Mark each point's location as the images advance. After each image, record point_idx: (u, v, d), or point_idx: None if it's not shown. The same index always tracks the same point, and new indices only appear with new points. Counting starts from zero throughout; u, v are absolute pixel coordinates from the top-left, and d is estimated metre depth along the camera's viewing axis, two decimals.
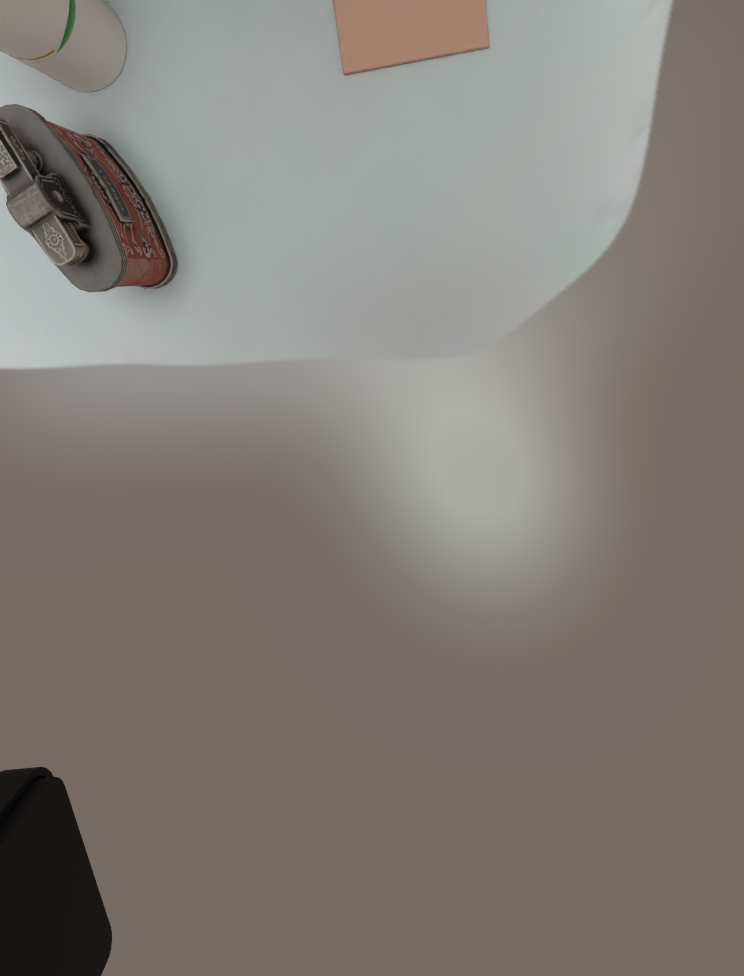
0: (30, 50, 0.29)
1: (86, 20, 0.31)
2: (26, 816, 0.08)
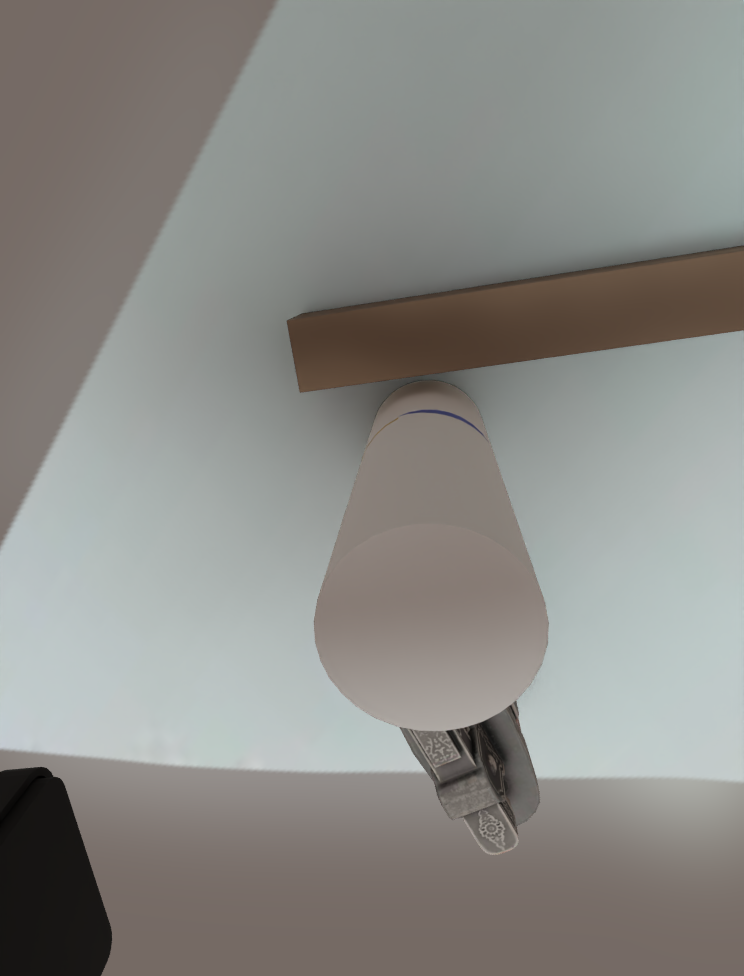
0: None
1: None
2: (26, 816, 0.08)
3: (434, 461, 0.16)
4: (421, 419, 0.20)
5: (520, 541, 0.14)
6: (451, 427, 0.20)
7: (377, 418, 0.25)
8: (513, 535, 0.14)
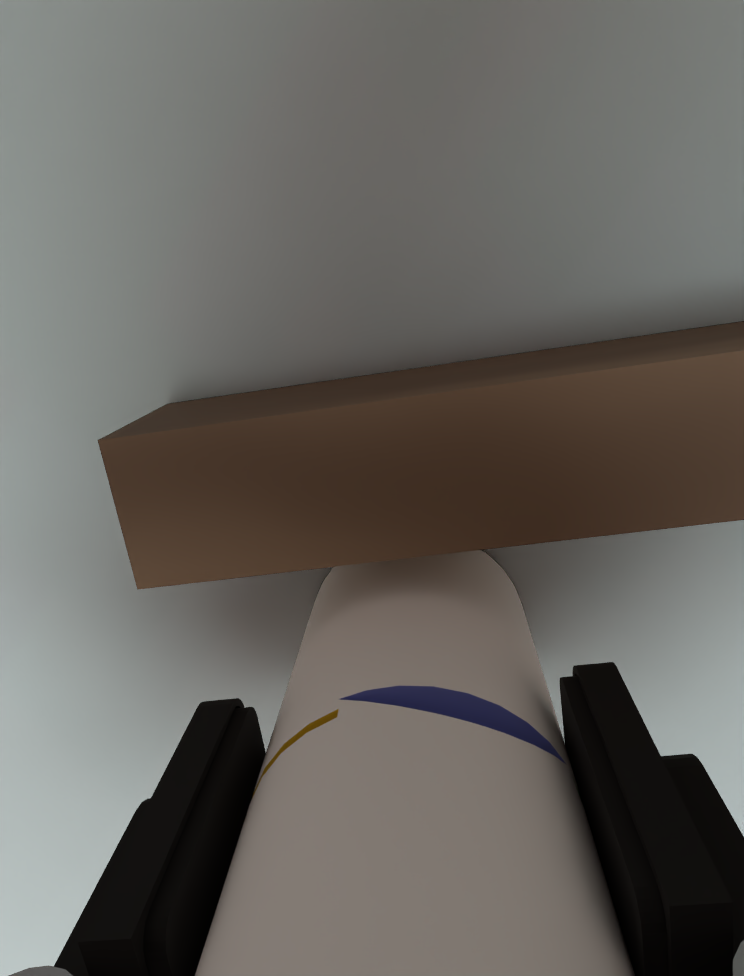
0: None
1: None
2: (239, 738, 0.09)
3: None
4: (394, 759, 0.07)
5: None
6: (480, 811, 0.07)
7: (310, 632, 0.12)
8: None
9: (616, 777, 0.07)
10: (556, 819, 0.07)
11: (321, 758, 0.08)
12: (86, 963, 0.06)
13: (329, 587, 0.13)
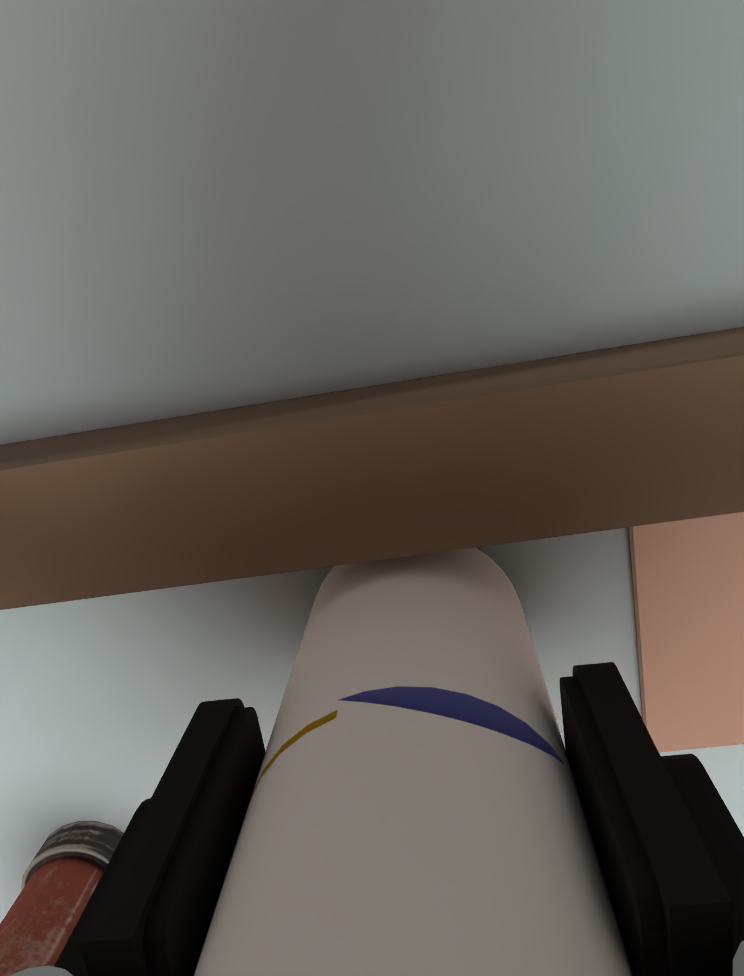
0: None
1: None
2: (239, 738, 0.09)
3: None
4: (392, 760, 0.07)
5: None
6: (478, 812, 0.07)
7: (309, 633, 0.12)
8: None
9: (616, 777, 0.07)
10: (555, 820, 0.07)
11: (320, 759, 0.08)
12: (86, 963, 0.06)
13: (328, 588, 0.13)
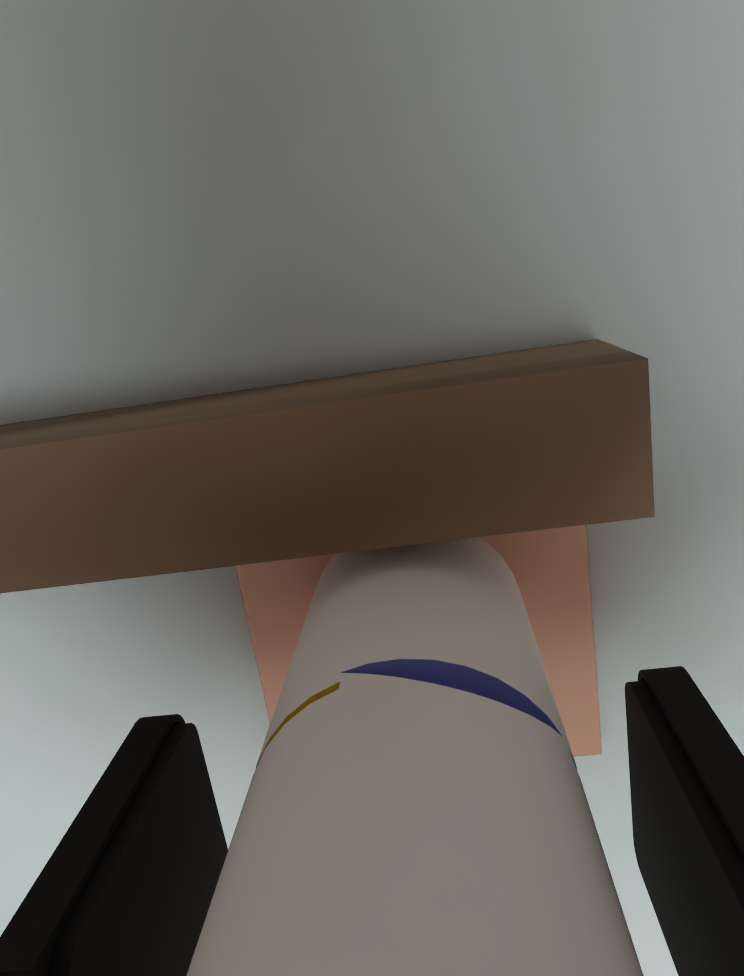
0: None
1: None
2: (174, 755, 0.09)
3: None
4: (394, 725, 0.07)
5: None
6: (478, 772, 0.07)
7: (311, 615, 0.12)
8: None
9: (705, 788, 0.07)
10: (552, 783, 0.07)
11: (323, 726, 0.08)
12: None
13: (330, 572, 0.13)
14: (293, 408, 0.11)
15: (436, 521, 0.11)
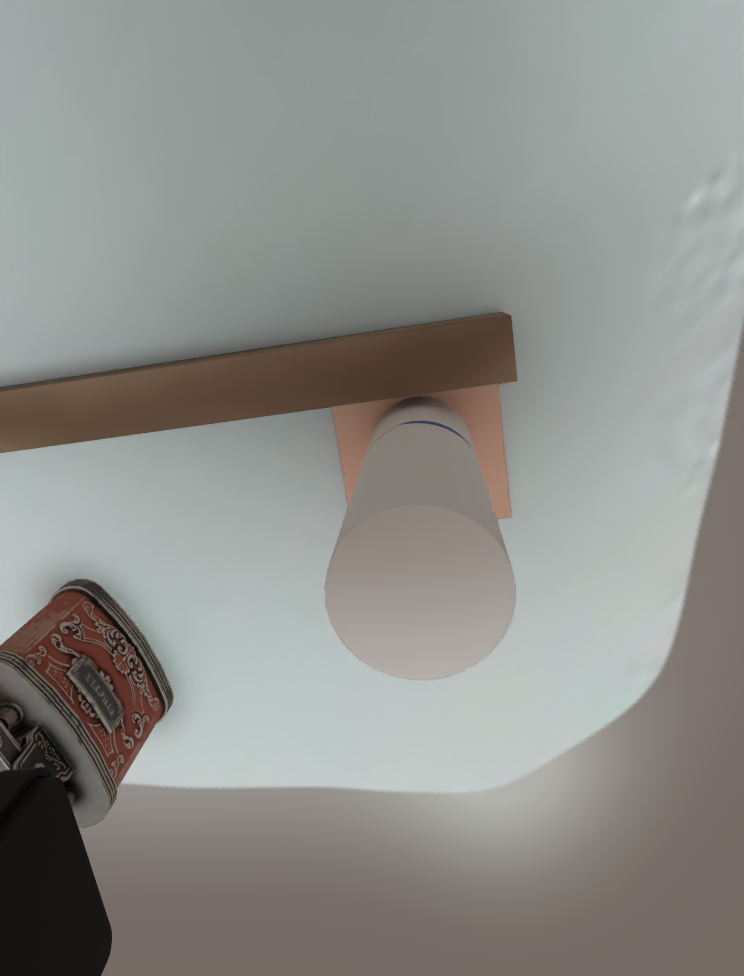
0: None
1: None
2: (26, 816, 0.08)
3: (423, 460, 0.19)
4: (413, 428, 0.23)
5: (494, 524, 0.17)
6: (439, 435, 0.23)
7: (375, 429, 0.28)
8: (488, 518, 0.17)
9: None
10: (464, 445, 0.23)
11: (390, 434, 0.24)
12: None
13: (381, 417, 0.29)
14: (371, 336, 0.26)
15: (429, 384, 0.27)
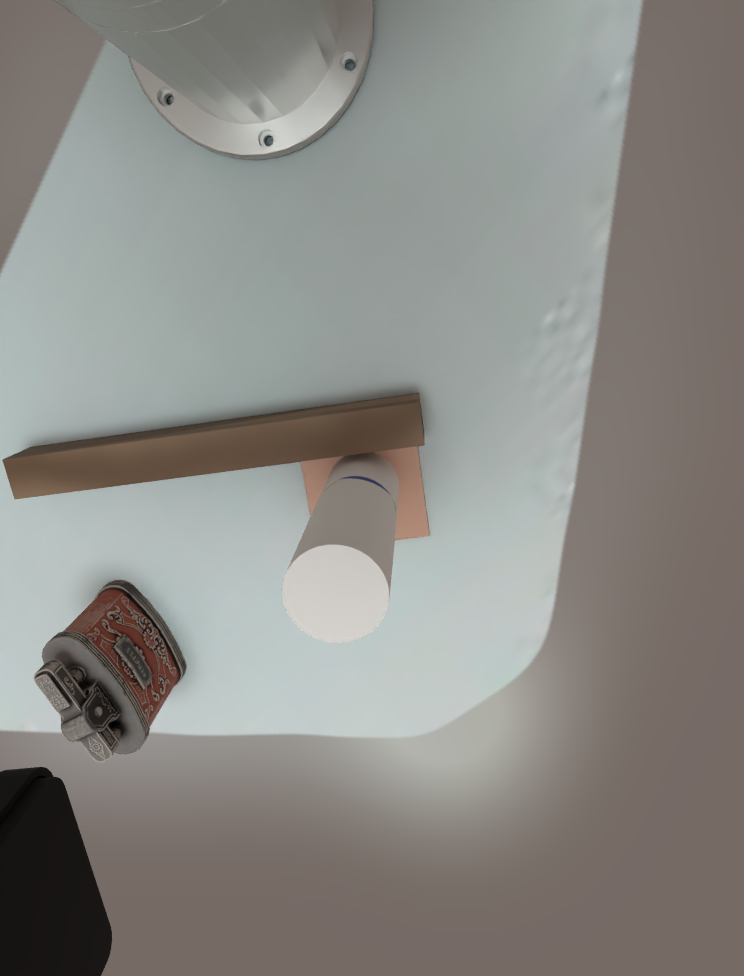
0: None
1: None
2: (26, 816, 0.08)
3: (346, 511, 0.31)
4: (348, 483, 0.35)
5: (381, 552, 0.29)
6: (364, 488, 0.35)
7: (328, 477, 0.40)
8: (376, 549, 0.29)
9: None
10: (381, 495, 0.35)
11: (333, 486, 0.36)
12: None
13: (334, 467, 0.41)
14: (324, 415, 0.39)
15: (364, 447, 0.39)
